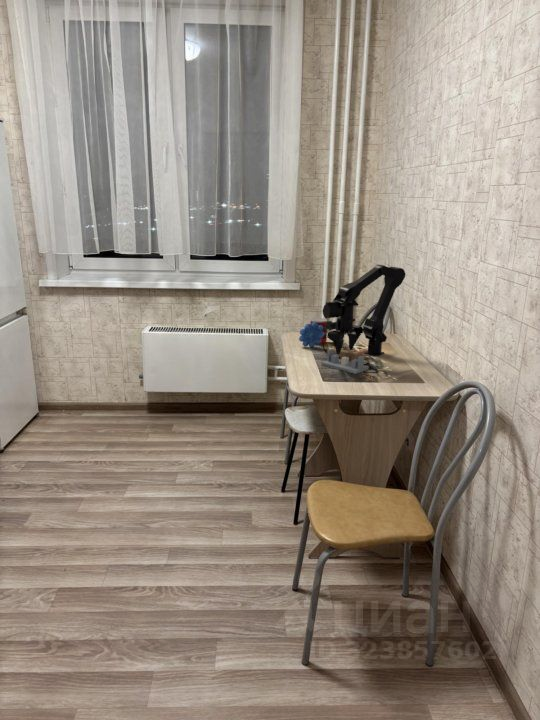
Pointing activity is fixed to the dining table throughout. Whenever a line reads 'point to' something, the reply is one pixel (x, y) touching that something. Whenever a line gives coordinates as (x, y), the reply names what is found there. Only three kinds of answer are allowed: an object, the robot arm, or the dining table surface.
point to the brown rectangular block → (347, 354)
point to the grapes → (311, 334)
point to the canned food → (323, 322)
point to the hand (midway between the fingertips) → (344, 351)
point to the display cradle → (345, 363)
